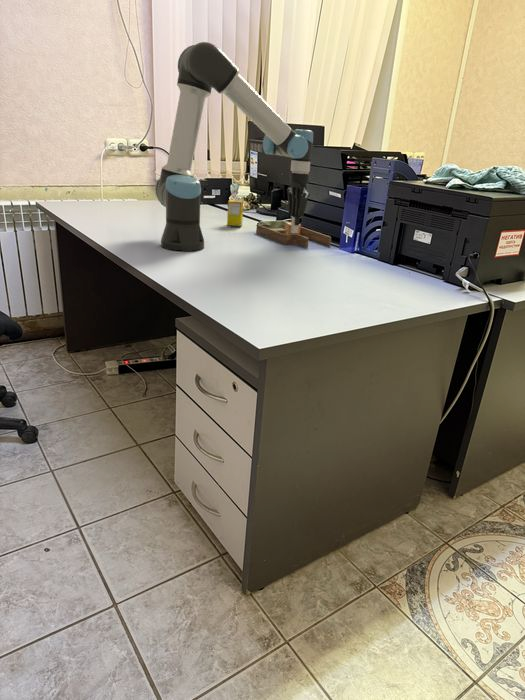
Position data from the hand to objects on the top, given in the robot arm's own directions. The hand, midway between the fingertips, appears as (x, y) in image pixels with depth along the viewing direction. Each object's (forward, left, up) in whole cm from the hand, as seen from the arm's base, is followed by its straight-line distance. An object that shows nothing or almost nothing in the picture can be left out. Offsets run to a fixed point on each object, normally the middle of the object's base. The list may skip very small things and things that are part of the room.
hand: (294, 232), depth 207 cm
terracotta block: (+1, +3, -2) cm, 4 cm away
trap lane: (-3, 0, -2) cm, 4 cm away
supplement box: (-14, +26, -2) cm, 30 cm away
